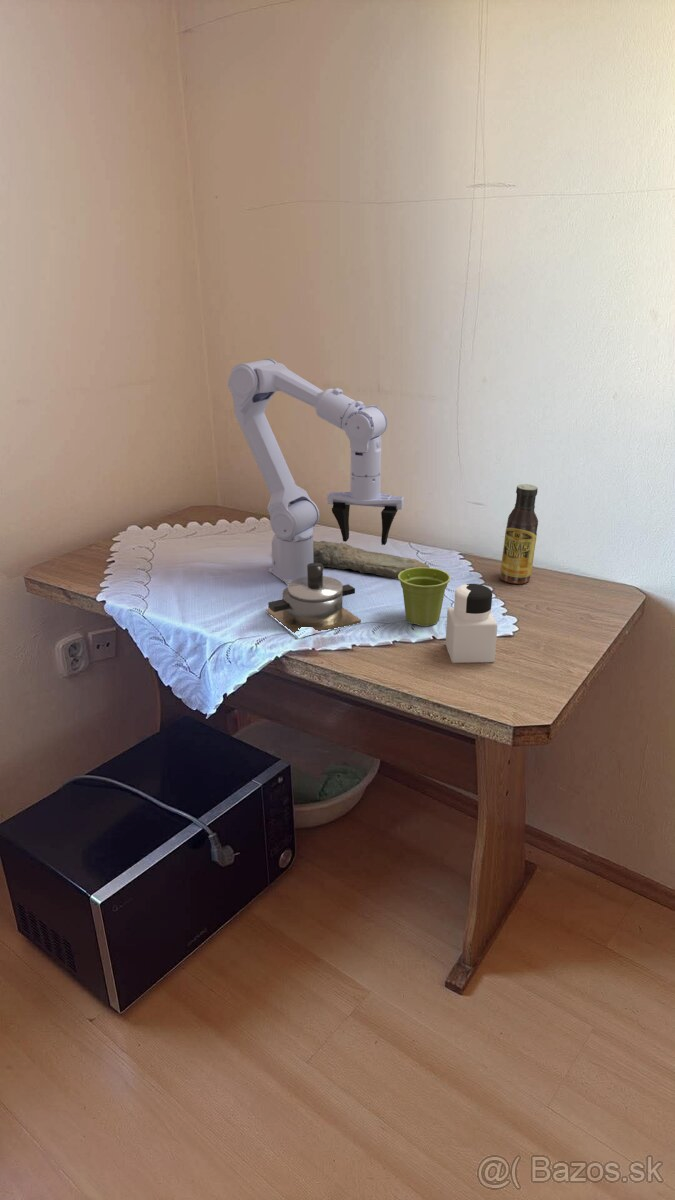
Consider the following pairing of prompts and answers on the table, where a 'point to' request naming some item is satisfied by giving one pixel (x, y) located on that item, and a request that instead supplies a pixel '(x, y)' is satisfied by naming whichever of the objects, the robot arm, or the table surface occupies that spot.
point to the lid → (315, 586)
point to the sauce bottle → (520, 537)
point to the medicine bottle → (471, 625)
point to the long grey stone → (361, 559)
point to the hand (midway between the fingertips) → (364, 541)
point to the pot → (312, 612)
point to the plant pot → (423, 594)
